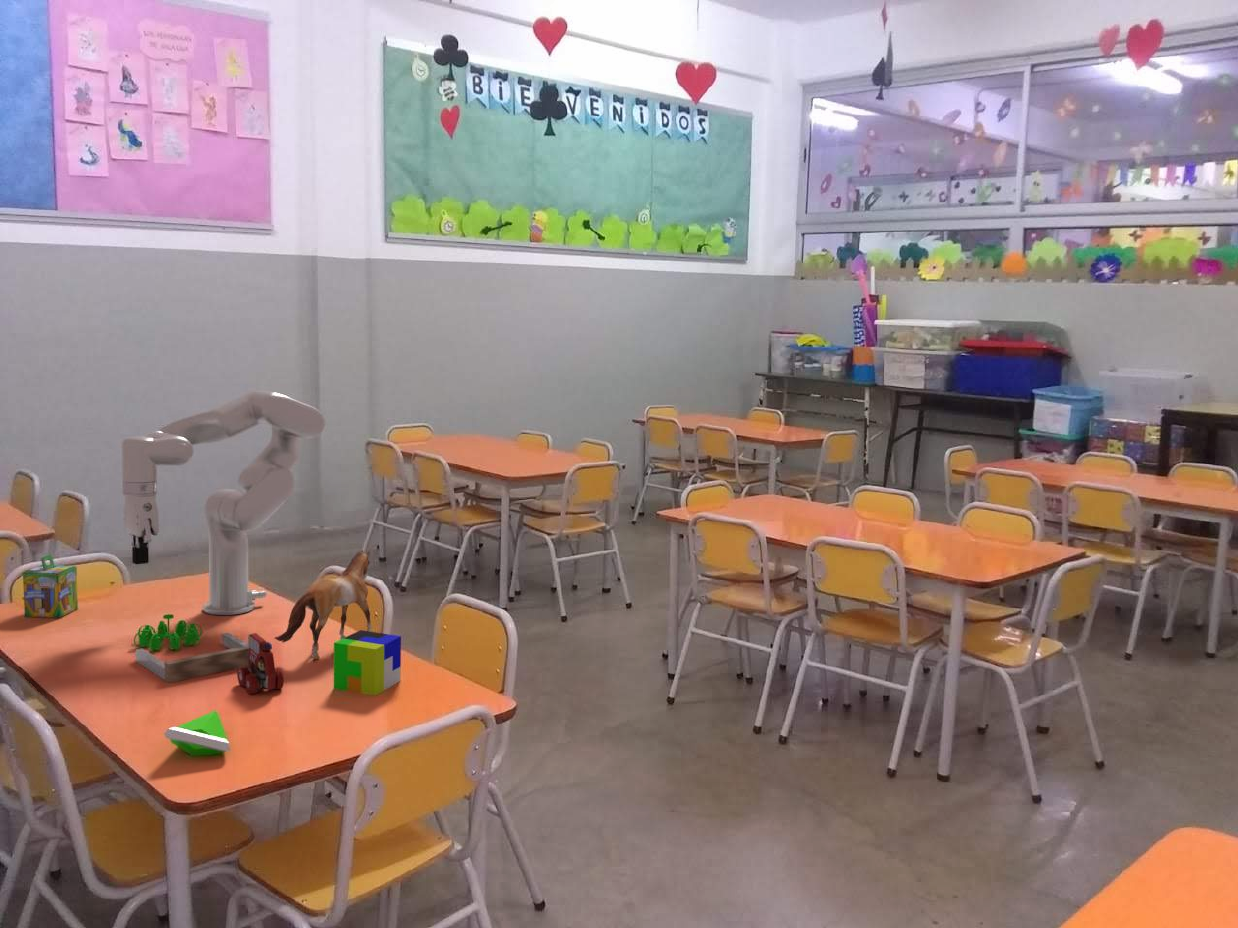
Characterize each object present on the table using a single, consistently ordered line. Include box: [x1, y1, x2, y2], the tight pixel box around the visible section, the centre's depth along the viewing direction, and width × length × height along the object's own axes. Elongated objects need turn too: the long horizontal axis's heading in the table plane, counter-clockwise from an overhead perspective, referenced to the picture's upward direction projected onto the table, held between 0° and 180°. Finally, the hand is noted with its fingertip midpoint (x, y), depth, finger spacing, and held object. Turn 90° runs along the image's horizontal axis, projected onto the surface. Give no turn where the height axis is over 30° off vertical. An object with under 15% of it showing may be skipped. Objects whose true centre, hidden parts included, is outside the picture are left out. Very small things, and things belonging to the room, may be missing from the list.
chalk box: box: [22, 553, 79, 619], centre depth 263 cm, size 9×9×15 cm
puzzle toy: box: [333, 629, 402, 697], centre depth 222 cm, size 10×10×10 cm
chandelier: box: [133, 613, 203, 653], centre depth 244 cm, size 15×15×7 cm
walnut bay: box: [135, 632, 249, 683], centre depth 232 cm, size 21×18×4 cm
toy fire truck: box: [236, 632, 285, 695], centre depth 218 cm, size 7×12×10 cm, turn 37°
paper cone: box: [163, 710, 231, 757], centre depth 194 cm, size 11×5×25 cm
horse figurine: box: [274, 550, 372, 660], centre depth 245 cm, size 31×8×21 cm, turn 155°
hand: (140, 562), depth 253 cm, fingers closed
